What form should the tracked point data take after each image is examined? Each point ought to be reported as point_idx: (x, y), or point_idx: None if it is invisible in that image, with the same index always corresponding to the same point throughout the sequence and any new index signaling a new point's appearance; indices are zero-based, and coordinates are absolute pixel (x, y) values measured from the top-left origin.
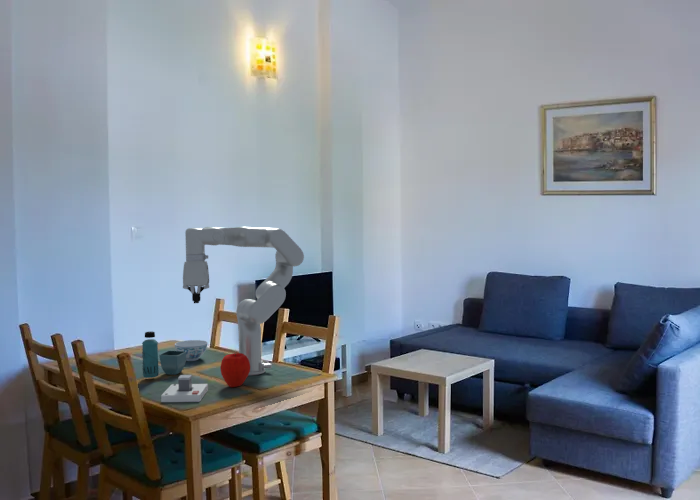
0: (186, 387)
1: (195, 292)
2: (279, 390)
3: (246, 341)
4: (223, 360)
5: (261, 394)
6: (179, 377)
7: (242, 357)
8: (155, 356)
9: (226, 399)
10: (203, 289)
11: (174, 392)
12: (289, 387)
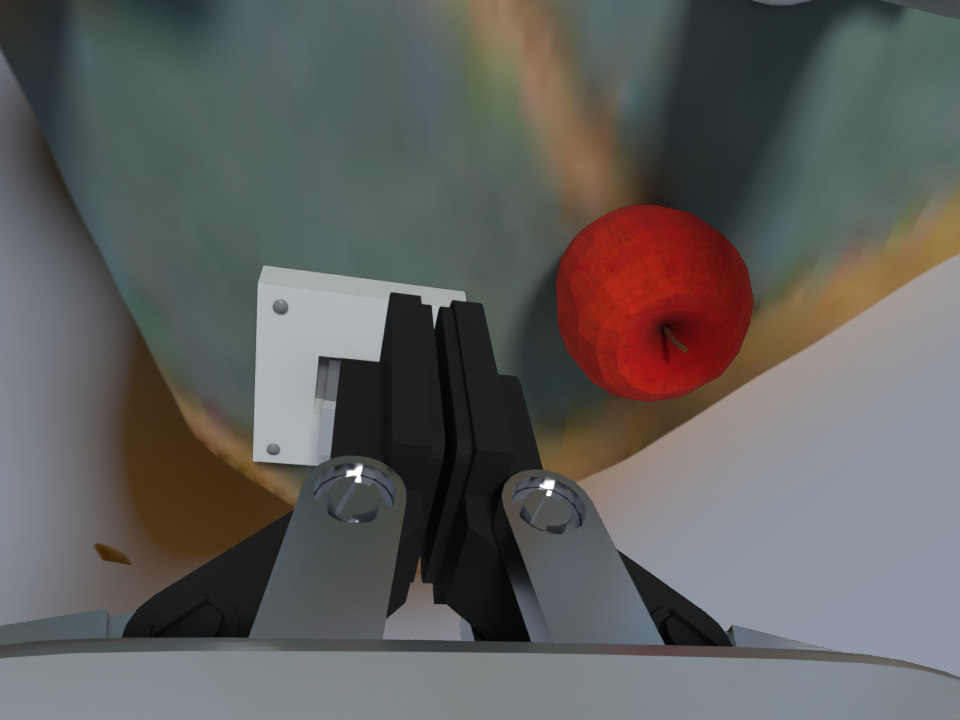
0: None
1: (412, 555)
2: (790, 353)
3: (911, 3)
4: (586, 357)
5: (695, 396)
6: (323, 450)
7: (708, 380)
8: None
9: (539, 439)
10: (674, 603)
11: (307, 428)
12: (854, 315)
